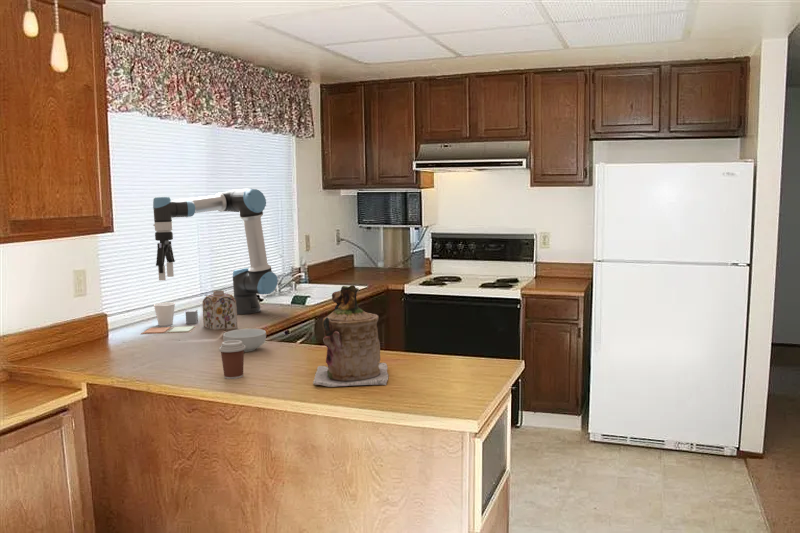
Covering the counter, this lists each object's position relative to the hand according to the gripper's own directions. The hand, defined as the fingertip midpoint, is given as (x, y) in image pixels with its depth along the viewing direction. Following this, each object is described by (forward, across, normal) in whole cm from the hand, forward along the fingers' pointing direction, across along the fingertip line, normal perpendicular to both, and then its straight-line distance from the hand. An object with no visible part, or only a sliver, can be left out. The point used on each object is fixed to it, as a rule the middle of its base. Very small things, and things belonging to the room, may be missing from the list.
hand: (166, 278), depth 317 cm
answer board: (+25, 0, 0) cm, 25 cm away
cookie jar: (+25, +88, +84) cm, 124 cm away
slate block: (+25, -17, +6) cm, 31 cm away
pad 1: (+24, 0, -6) cm, 24 cm away
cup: (+25, -15, -6) cm, 30 cm away
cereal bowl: (+25, +40, +41) cm, 62 cm away
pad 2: (+24, 0, +6) cm, 24 cm away
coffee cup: (+25, +81, +43) cm, 95 cm away
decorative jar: (+25, -5, +22) cm, 34 cm away
